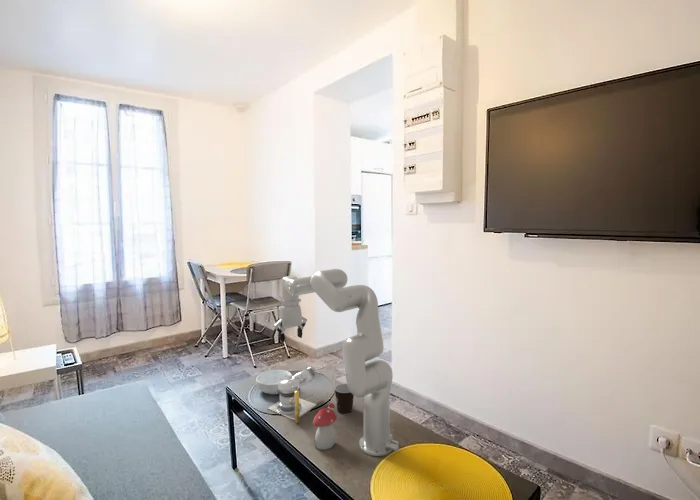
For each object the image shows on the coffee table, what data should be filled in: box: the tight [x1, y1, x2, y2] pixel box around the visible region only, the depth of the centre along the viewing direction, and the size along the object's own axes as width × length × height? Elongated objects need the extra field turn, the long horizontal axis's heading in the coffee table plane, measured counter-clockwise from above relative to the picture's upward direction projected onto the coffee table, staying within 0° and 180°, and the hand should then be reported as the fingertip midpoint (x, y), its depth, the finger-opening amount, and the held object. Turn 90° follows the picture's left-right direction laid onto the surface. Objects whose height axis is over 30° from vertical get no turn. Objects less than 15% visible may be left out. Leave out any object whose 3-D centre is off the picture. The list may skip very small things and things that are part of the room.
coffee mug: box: [334, 382, 355, 415], centre depth 159 cm, size 12×9×10 cm
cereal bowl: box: [255, 369, 292, 395], centre depth 176 cm, size 17×17×7 cm
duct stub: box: [267, 390, 318, 424], centre depth 158 cm, size 16×19×14 cm
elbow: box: [277, 366, 317, 396], centre depth 162 cm, size 20×9×6 cm, turn 146°
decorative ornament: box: [312, 402, 338, 451], centre depth 133 cm, size 9×6×15 cm
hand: (291, 339), depth 171 cm, fingers open, 8 cm apart
